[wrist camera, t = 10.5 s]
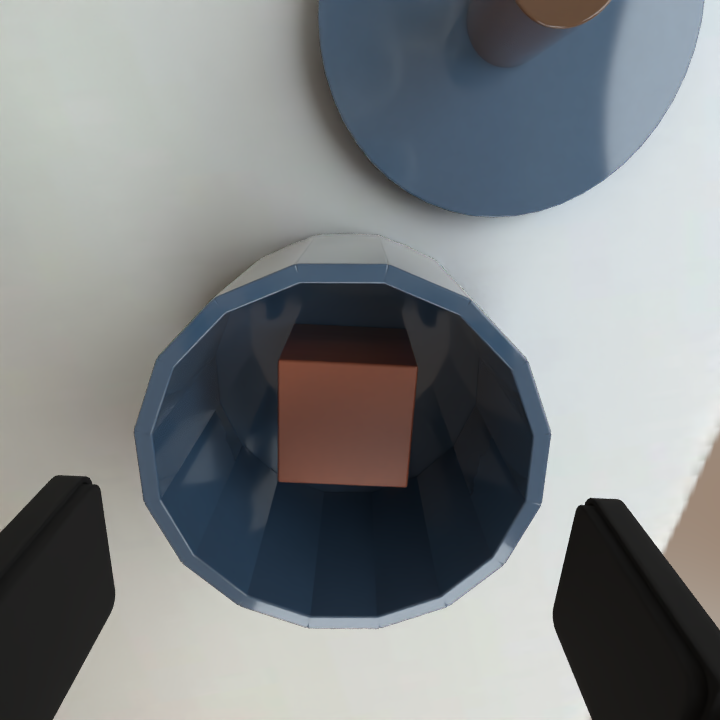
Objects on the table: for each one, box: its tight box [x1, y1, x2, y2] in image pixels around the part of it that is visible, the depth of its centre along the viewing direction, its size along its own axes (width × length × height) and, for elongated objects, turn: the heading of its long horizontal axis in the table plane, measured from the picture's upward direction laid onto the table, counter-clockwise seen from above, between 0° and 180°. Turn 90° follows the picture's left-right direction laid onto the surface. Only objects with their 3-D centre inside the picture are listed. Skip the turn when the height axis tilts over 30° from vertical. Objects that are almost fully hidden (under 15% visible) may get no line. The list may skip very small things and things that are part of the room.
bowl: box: [134, 233, 551, 629], centre depth 19 cm, size 11×11×8 cm
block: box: [278, 324, 418, 488], centre depth 20 cm, size 4×4×4 cm
